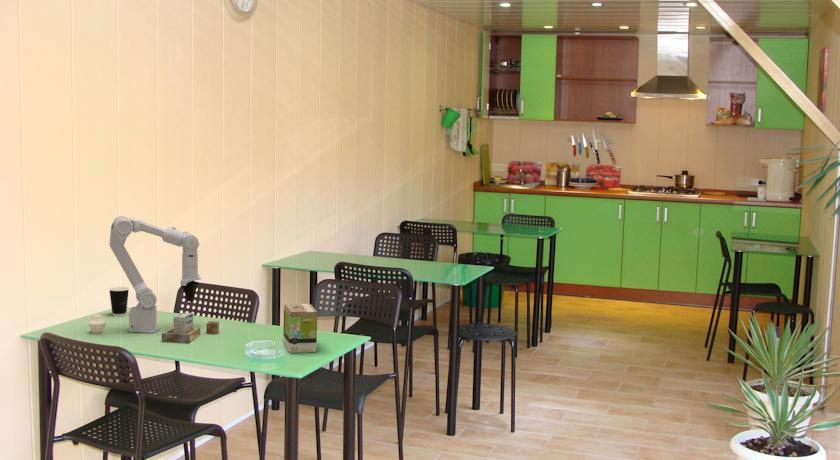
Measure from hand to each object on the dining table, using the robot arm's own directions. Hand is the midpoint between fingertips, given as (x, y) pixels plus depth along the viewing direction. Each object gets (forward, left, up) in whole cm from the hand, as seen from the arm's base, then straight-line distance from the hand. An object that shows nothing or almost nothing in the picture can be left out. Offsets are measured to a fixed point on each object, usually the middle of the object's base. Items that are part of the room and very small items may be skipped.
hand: (190, 301), depth 347 cm
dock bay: (+3, -17, -10) cm, 20 cm away
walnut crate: (+11, -6, -10) cm, 16 cm away
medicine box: (+3, -16, -11) cm, 20 cm away
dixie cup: (-35, +15, -11) cm, 40 cm away
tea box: (+48, -21, -11) cm, 53 cm away
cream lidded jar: (-30, -15, -11) cm, 35 cm away
